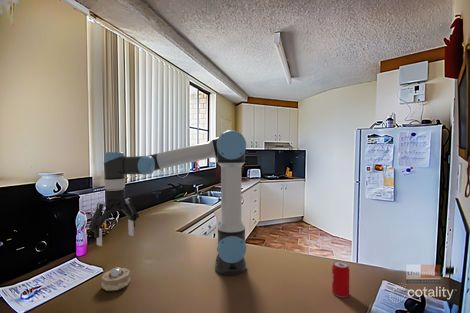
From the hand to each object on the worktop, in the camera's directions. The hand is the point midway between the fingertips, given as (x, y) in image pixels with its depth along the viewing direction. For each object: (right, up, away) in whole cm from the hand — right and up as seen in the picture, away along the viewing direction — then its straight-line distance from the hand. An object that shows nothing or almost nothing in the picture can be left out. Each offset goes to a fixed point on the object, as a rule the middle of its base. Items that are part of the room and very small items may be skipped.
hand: (116, 240), depth 102 cm
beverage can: (+91, -20, -5) cm, 93 cm away
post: (0, -19, 0) cm, 19 cm away
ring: (0, -18, 0) cm, 18 cm away
